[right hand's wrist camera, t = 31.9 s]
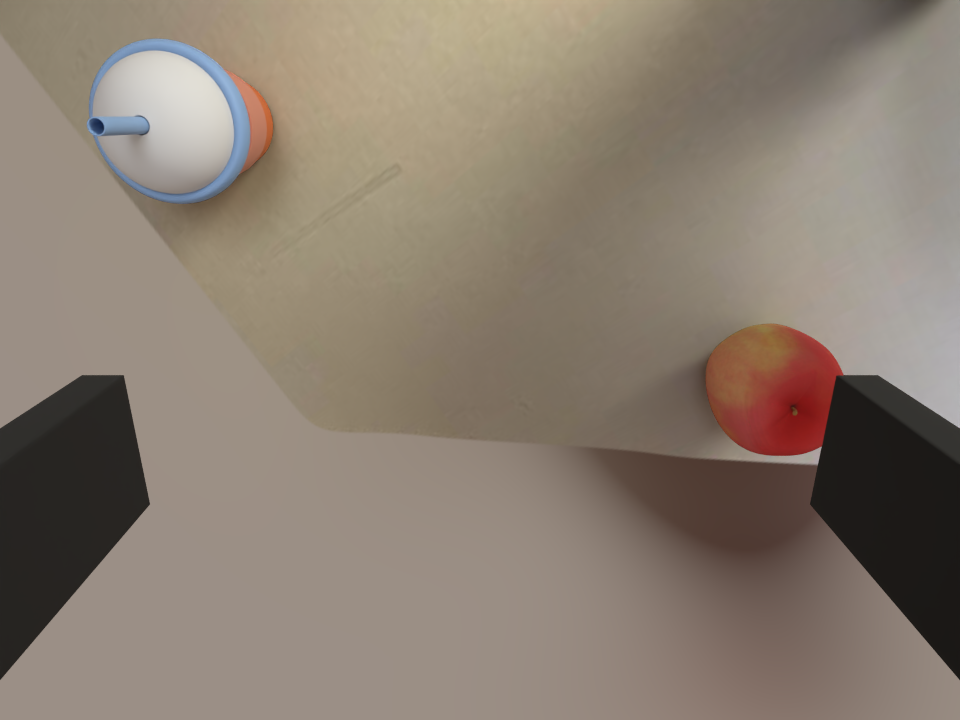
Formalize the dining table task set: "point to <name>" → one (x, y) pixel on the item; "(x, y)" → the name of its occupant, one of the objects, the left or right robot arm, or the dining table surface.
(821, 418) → the apple
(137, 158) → the cup with straw
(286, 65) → the dining table surface
